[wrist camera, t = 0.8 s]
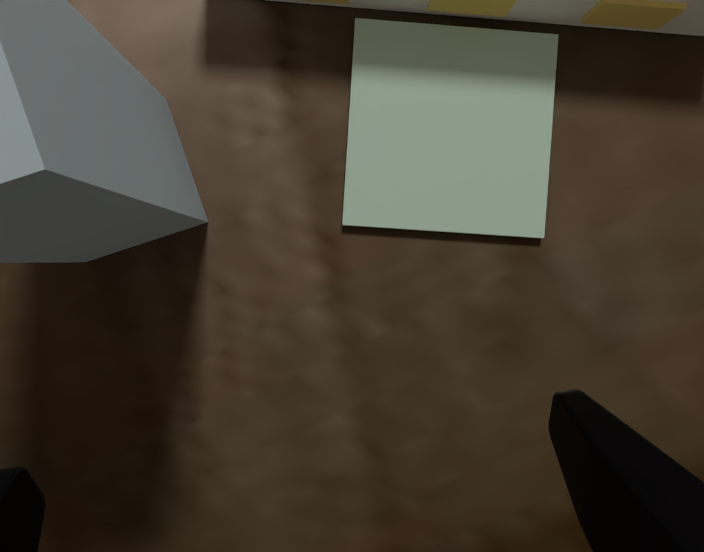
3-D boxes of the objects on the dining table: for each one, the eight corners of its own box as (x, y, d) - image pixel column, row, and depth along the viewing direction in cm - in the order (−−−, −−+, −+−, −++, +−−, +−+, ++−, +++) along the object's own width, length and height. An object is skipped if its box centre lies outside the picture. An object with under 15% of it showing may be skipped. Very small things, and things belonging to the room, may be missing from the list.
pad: (541, 238, 23) (544, 238, 23) (342, 225, 23) (342, 224, 22) (555, 37, 23) (558, 34, 23) (354, 21, 23) (355, 17, 22)
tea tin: (208, 222, 23) (45, 169, 10) (85, 262, 22) (-249, 263, 9) (165, 96, 22) (-61, -133, 9) (40, 135, 22) (-363, -41, 9)
